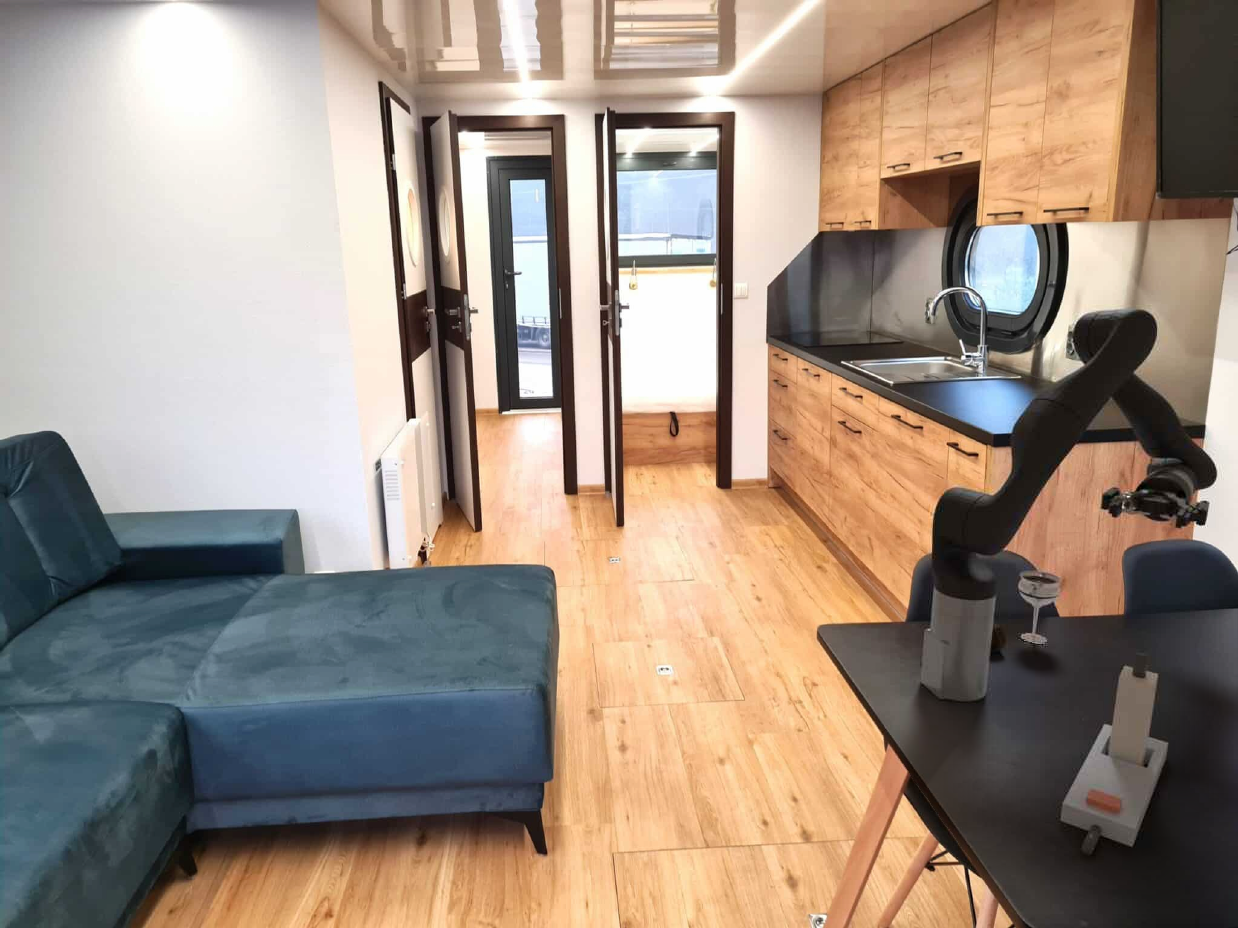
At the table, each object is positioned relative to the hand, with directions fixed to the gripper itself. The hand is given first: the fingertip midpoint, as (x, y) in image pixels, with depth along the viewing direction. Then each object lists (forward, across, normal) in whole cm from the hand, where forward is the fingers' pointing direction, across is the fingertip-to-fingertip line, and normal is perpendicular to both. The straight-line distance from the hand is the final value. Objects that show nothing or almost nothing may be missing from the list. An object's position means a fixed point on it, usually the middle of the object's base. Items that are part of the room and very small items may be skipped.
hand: (1146, 516), depth 135 cm
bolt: (+1, -25, +30) cm, 39 cm away
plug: (+22, +5, +30) cm, 37 cm away
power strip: (+30, +5, +30) cm, 43 cm away
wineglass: (-13, -17, +30) cm, 37 cm away
